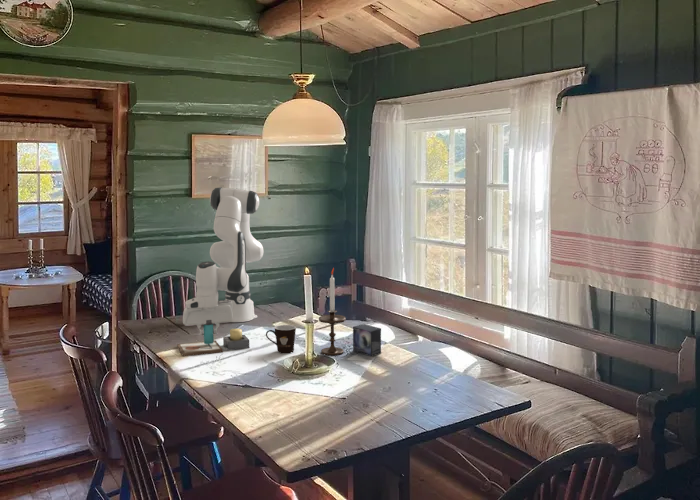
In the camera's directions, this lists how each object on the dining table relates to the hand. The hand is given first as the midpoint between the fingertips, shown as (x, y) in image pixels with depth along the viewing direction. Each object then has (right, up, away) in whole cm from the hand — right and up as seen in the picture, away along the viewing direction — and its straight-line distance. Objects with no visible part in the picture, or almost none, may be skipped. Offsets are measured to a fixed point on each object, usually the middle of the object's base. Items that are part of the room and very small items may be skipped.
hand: (208, 334), depth 280 cm
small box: (+65, -7, -6) cm, 66 cm away
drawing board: (-3, -6, -2) cm, 7 cm away
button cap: (+11, -3, +3) cm, 12 cm away
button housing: (+11, -6, +3) cm, 13 cm away
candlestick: (+52, -7, -6) cm, 52 cm away
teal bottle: (0, -4, 0) cm, 4 cm away
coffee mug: (+31, -7, -4) cm, 32 cm away
